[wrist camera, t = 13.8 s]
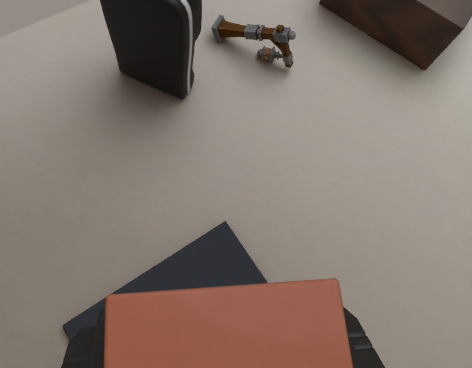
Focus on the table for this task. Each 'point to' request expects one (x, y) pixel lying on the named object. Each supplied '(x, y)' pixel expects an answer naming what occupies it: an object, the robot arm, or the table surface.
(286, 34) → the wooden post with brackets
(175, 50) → the battery charger
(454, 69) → the table surface
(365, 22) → the storage box
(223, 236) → the mat
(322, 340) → the small box
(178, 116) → the table surface
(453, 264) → the table surface
